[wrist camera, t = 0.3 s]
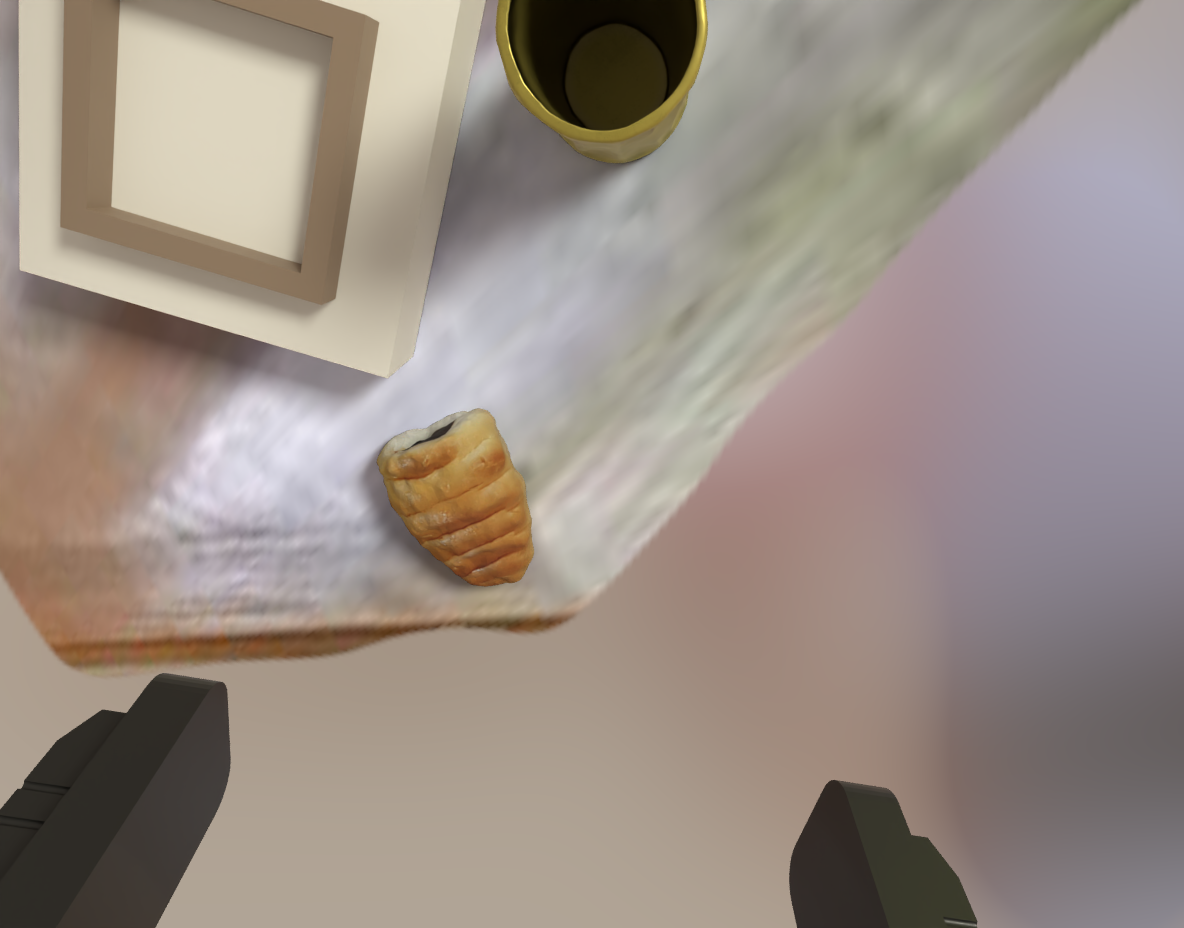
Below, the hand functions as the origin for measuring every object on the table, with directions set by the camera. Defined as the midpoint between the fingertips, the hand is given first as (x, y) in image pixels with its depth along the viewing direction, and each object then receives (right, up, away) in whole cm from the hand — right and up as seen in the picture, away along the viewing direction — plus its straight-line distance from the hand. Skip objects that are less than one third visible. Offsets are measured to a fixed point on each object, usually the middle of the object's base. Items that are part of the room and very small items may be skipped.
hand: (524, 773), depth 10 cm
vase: (+2, +20, +22) cm, 30 cm away
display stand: (-13, +19, +23) cm, 32 cm away
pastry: (-5, +3, +29) cm, 30 cm away
